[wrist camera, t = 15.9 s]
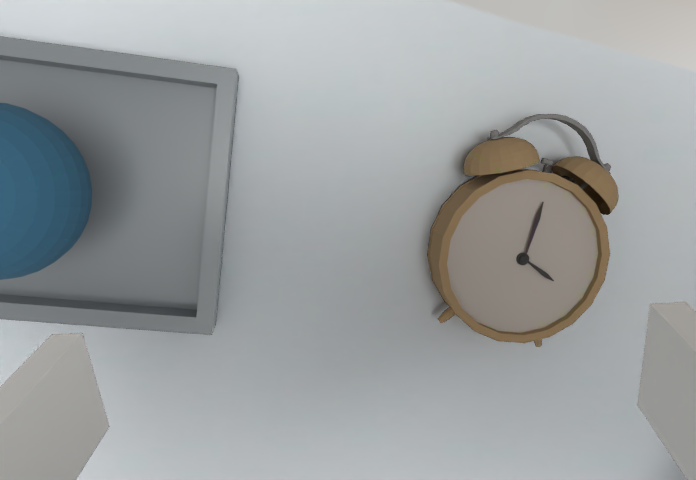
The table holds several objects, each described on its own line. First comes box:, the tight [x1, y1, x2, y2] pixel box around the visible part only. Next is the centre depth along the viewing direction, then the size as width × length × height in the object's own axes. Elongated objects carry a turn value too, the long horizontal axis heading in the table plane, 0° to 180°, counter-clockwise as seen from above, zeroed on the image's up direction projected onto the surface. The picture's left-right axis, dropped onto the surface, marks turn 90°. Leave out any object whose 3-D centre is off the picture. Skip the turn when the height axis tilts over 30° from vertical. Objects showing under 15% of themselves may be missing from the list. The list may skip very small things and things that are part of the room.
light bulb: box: [0, 103, 92, 280], centre depth 29 cm, size 8×8×12 cm
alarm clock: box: [427, 114, 618, 347], centre depth 38 cm, size 11×5×15 cm
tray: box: [0, 36, 239, 335], centre depth 34 cm, size 20×16×2 cm
